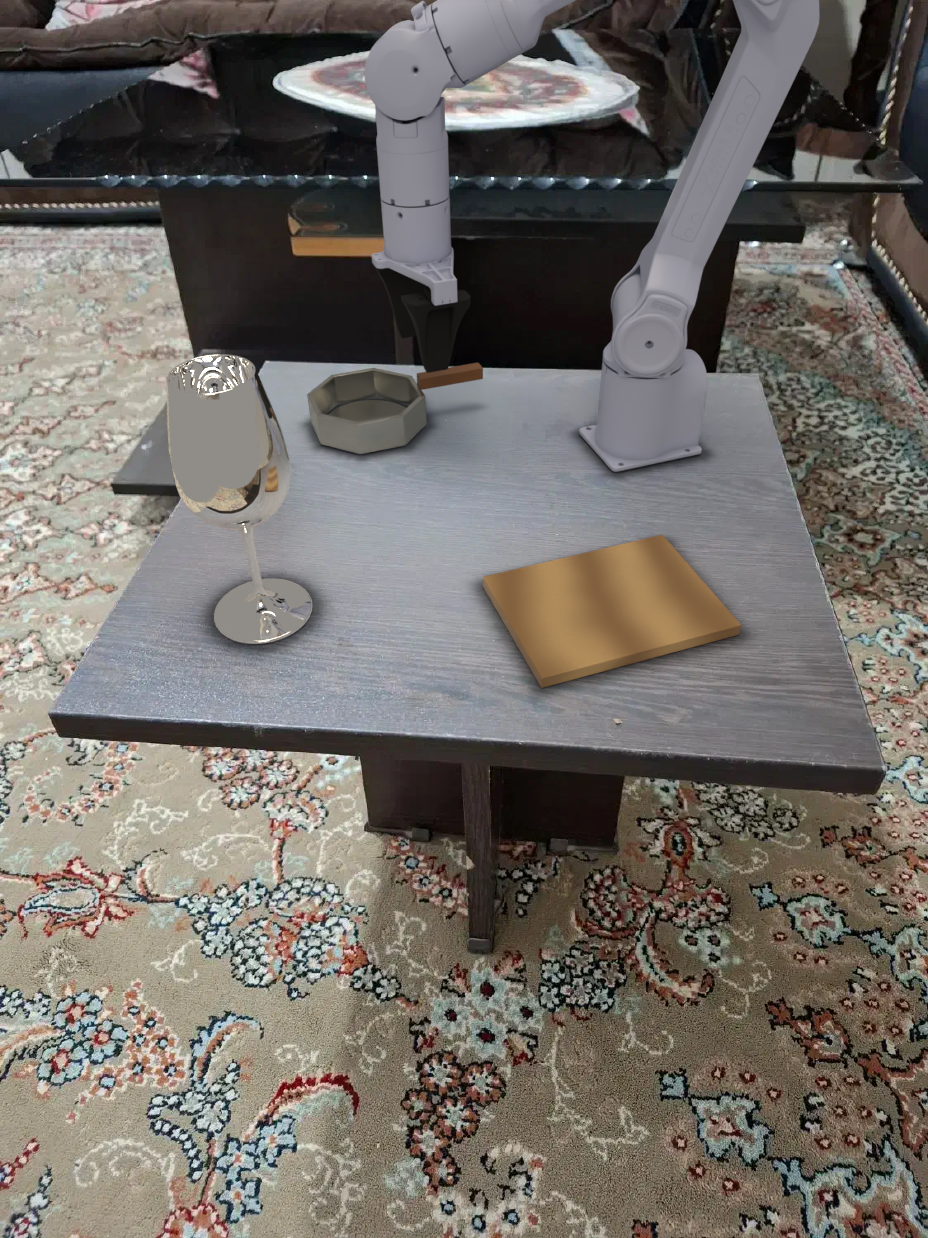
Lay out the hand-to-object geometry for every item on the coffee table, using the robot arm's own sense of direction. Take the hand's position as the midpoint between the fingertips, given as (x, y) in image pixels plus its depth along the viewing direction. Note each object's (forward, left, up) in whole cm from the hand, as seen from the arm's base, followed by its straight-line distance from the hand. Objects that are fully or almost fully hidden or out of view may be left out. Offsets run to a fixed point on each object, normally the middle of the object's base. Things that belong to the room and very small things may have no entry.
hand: (423, 351), depth 83 cm
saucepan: (+2, -4, -9) cm, 10 cm away
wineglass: (+20, +21, -9) cm, 30 cm away
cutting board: (-5, +30, -9) cm, 32 cm away
